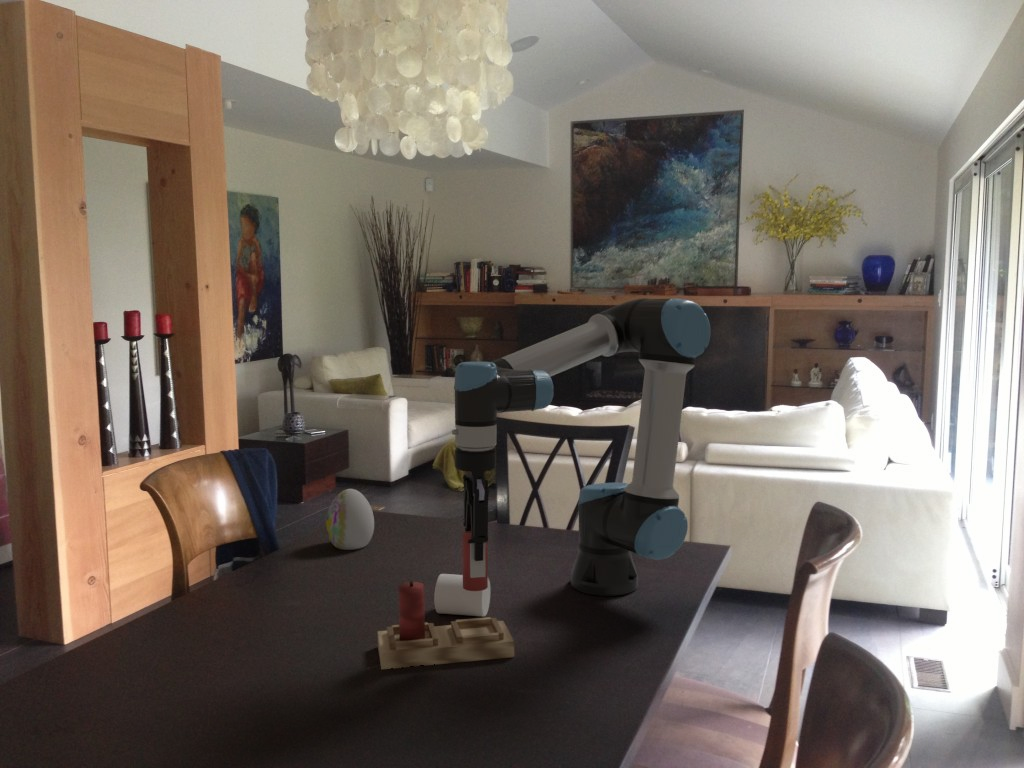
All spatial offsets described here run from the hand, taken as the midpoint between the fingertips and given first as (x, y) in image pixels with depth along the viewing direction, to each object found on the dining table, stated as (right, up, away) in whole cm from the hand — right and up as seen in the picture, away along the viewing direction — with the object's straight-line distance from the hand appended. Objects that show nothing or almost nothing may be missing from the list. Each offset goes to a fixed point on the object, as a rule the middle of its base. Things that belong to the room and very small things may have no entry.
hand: (475, 572), depth 160 cm
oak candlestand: (-6, -15, +1) cm, 16 cm away
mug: (-3, -13, +22) cm, 25 cm away
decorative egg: (-35, -8, +66) cm, 76 cm away
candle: (0, -3, 0) cm, 3 cm away
